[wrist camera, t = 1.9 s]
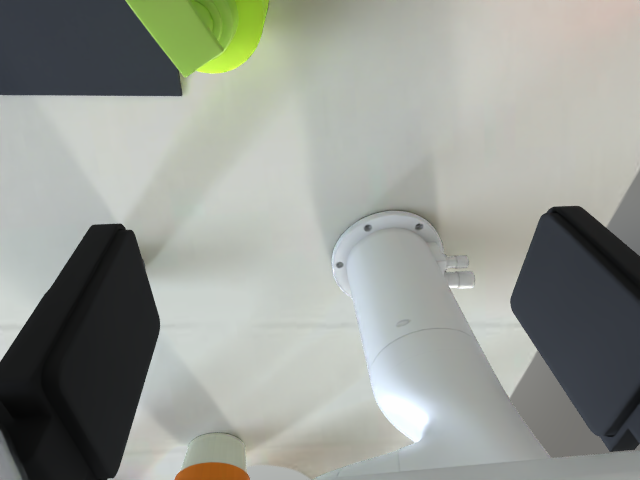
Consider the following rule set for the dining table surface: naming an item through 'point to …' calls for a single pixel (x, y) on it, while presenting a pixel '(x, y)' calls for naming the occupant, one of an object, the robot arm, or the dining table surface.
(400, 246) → the robot arm
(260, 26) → the soap dispenser
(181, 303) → the dining table surface
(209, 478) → the reusable coffee cup
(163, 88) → the placemat
